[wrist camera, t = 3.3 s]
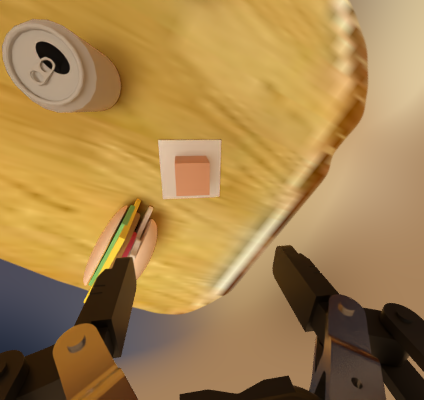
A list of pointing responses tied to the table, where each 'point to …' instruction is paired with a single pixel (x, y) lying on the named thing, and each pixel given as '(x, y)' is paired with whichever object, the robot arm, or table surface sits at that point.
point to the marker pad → (188, 148)
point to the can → (59, 68)
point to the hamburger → (123, 243)
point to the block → (192, 175)
